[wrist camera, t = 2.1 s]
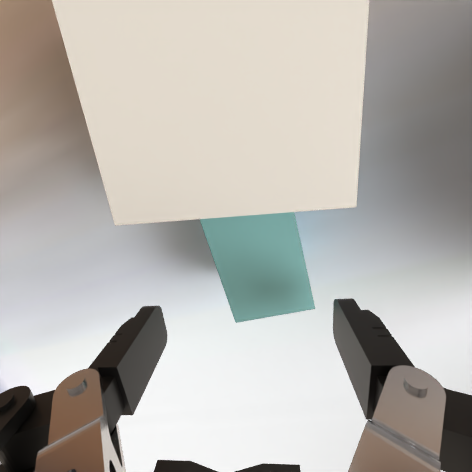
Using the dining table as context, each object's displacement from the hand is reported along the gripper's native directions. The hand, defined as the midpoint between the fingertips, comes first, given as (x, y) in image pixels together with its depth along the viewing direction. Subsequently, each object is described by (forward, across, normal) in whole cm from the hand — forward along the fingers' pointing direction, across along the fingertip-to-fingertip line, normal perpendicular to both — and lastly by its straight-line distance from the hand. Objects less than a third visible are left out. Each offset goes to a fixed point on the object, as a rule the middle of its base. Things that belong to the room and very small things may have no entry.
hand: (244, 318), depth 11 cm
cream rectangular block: (+8, 0, -10) cm, 13 cm away
